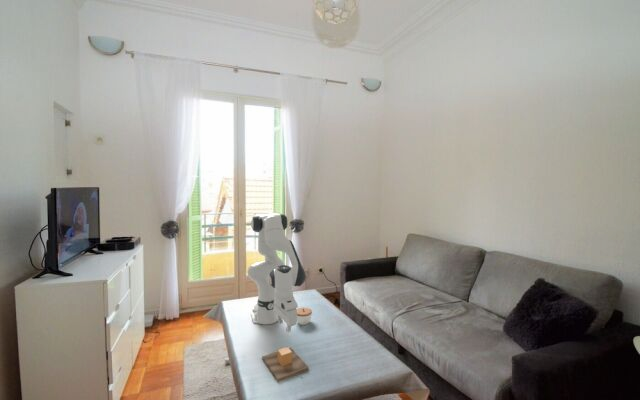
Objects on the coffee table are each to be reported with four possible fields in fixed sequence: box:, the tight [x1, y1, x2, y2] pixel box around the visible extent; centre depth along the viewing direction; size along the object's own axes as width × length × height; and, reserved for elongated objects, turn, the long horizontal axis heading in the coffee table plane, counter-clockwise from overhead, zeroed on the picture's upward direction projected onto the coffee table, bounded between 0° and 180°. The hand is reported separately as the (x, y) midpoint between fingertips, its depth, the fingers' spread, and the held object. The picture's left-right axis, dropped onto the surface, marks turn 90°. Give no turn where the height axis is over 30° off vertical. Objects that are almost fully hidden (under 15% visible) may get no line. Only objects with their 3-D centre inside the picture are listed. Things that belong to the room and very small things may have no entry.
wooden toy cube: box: [276, 346, 292, 366], centre depth 147 cm, size 5×5×6 cm
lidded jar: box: [296, 306, 313, 326], centre depth 190 cm, size 11×11×9 cm
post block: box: [261, 346, 310, 383], centre depth 147 cm, size 20×16×5 cm
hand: (284, 327), depth 146 cm, fingers open, 8 cm apart
